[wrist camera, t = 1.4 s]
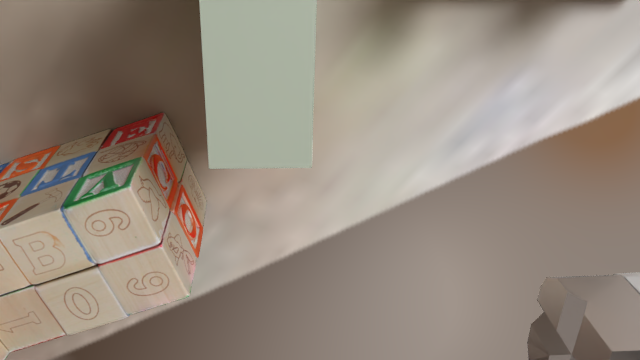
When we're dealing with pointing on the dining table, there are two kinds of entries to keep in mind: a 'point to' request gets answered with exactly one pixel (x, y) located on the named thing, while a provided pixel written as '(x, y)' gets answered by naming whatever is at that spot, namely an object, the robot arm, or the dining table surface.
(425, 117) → the dining table surface
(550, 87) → the dining table surface
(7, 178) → the stack of blocks
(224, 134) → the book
